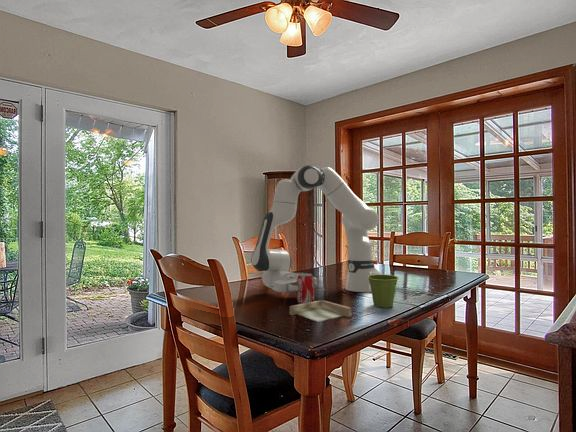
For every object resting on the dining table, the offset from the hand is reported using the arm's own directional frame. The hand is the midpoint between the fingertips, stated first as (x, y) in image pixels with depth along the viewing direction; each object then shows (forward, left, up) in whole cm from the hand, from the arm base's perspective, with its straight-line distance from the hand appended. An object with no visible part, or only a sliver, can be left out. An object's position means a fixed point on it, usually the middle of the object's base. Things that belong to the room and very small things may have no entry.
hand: (306, 286), depth 142 cm
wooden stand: (+6, +15, -7) cm, 18 cm away
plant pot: (-22, +20, -7) cm, 31 cm away
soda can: (0, -1, -7) cm, 7 cm away
